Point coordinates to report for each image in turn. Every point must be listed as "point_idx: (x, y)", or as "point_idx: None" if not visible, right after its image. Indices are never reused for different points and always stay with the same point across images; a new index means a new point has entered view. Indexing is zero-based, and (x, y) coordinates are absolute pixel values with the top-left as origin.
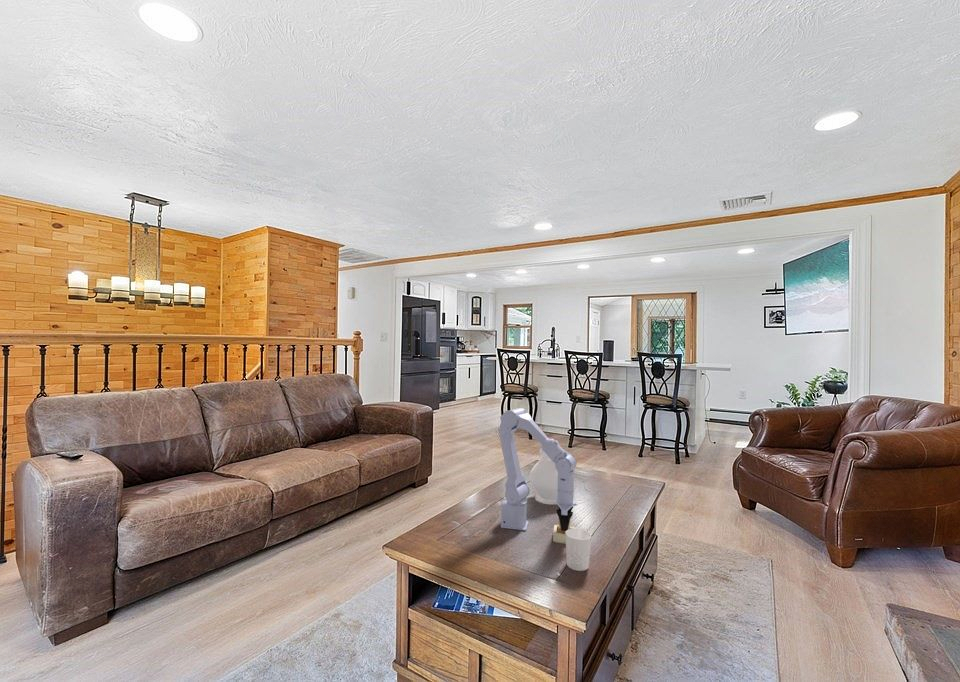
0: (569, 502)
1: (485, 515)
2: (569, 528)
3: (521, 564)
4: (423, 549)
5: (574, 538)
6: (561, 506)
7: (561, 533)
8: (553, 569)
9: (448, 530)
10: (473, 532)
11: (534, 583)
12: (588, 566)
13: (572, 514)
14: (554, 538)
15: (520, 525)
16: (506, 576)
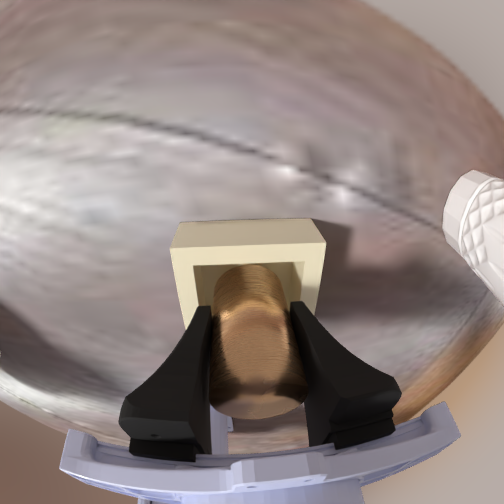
0: (361, 500)
1: None
2: (266, 294)
3: (434, 349)
4: None
5: (501, 273)
6: (389, 475)
7: None
8: (471, 280)
9: None
10: (277, 444)
11: (496, 304)
12: (487, 173)
13: (393, 384)
14: None
15: (220, 414)
16: (462, 353)
